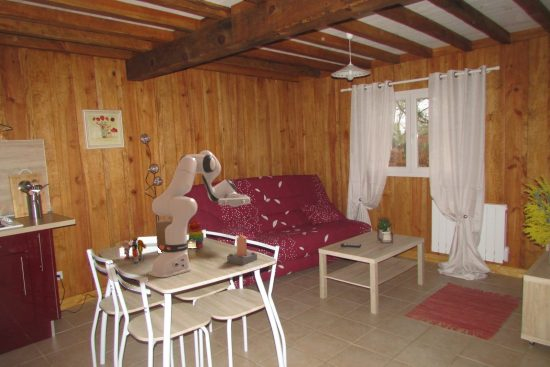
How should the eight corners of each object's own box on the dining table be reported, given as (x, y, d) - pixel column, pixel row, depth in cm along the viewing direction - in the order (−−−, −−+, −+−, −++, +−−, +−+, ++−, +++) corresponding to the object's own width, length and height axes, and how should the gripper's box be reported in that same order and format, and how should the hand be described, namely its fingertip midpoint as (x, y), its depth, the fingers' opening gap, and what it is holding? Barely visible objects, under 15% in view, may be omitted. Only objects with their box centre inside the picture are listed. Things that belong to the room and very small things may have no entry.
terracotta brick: (246, 255, 220) (246, 236, 219) (237, 256, 219) (237, 237, 218) (245, 253, 225) (245, 234, 224) (236, 253, 224) (236, 235, 223)
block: (178, 249, 250) (176, 218, 248) (172, 254, 240) (171, 221, 239) (163, 249, 251) (161, 218, 249) (156, 254, 241) (155, 221, 240)
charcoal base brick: (243, 266, 214) (243, 257, 214) (227, 262, 221) (226, 254, 221) (257, 260, 224) (256, 252, 224) (241, 257, 231) (240, 249, 231)
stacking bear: (187, 245, 261) (186, 219, 259) (203, 244, 263) (202, 218, 262) (188, 249, 251) (186, 221, 249) (204, 248, 253) (203, 220, 251)
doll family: (121, 257, 235) (120, 236, 234) (137, 254, 242) (135, 233, 240) (135, 265, 219) (134, 242, 218) (152, 261, 226) (150, 239, 225)
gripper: (217, 195, 255) (218, 198, 242) (248, 194, 258) (251, 197, 245) (217, 205, 256) (218, 208, 242) (249, 204, 259) (251, 207, 246)
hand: (235, 202), depth 244 cm, fingers open, 8 cm apart
